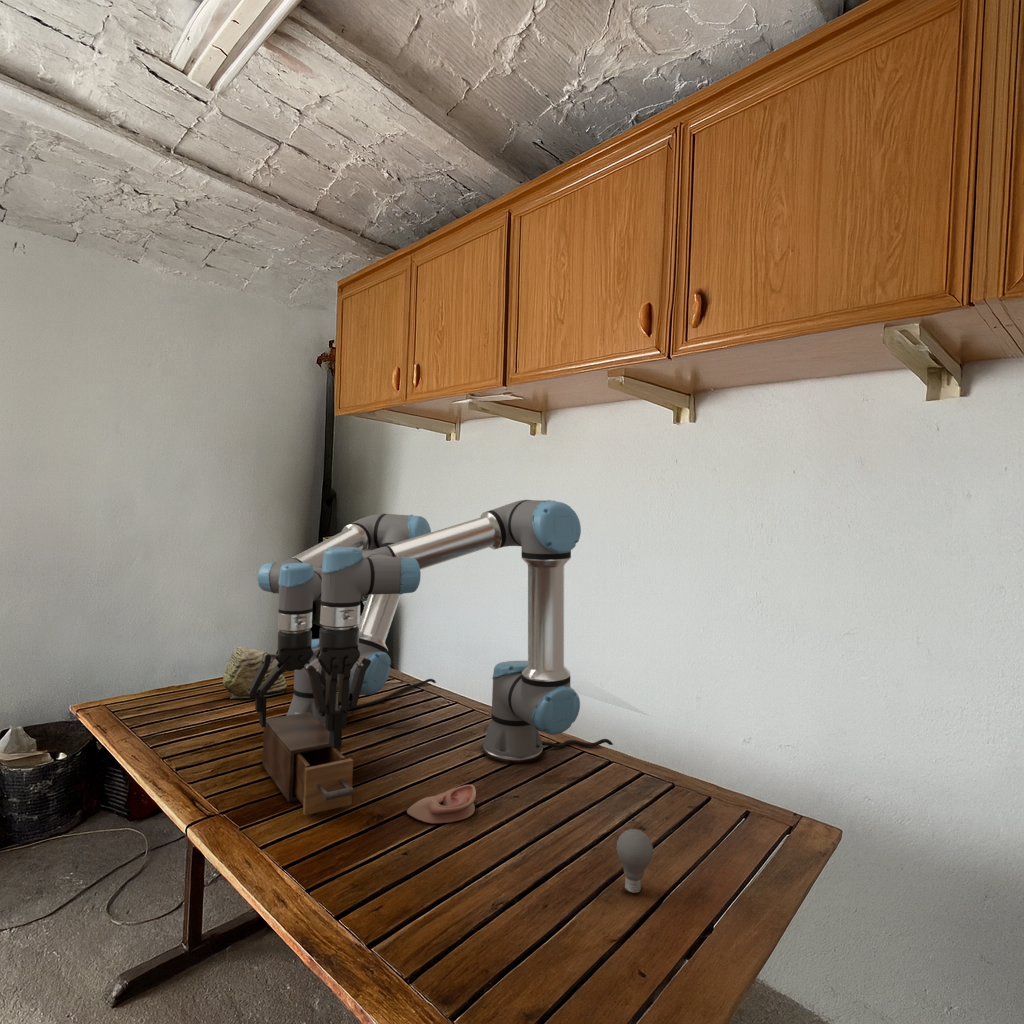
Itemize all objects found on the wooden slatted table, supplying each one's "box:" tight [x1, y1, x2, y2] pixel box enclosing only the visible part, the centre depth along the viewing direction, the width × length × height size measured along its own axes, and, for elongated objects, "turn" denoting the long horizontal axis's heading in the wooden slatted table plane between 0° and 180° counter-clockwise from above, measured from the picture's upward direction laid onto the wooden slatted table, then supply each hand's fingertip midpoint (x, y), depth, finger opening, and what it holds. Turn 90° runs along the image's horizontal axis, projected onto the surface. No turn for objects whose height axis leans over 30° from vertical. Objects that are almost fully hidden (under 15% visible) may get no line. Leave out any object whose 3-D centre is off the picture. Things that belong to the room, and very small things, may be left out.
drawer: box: [293, 747, 354, 816], centre depth 132 cm, size 26×10×9 cm, turn 36°
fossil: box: [222, 646, 288, 699], centre depth 198 cm, size 9×18×15 cm, turn 132°
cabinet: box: [261, 712, 342, 803], centre depth 142 cm, size 21×11×11 cm, turn 36°
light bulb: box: [615, 828, 654, 894], centre depth 106 cm, size 6×6×10 cm
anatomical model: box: [406, 784, 477, 824], centre depth 130 cm, size 13×4×12 cm
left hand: (292, 720), depth 148 cm, fingers open, 13 cm apart
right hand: (335, 745), depth 125 cm, fingers closed
